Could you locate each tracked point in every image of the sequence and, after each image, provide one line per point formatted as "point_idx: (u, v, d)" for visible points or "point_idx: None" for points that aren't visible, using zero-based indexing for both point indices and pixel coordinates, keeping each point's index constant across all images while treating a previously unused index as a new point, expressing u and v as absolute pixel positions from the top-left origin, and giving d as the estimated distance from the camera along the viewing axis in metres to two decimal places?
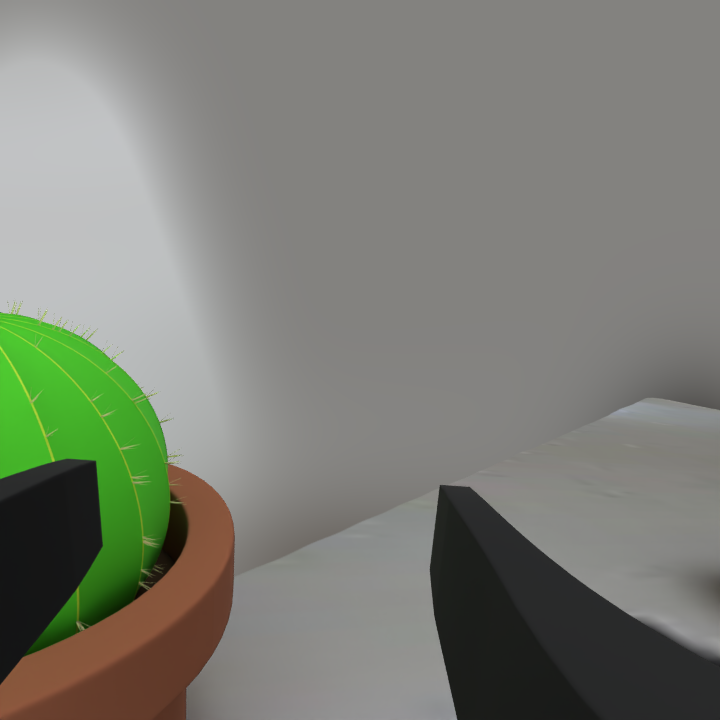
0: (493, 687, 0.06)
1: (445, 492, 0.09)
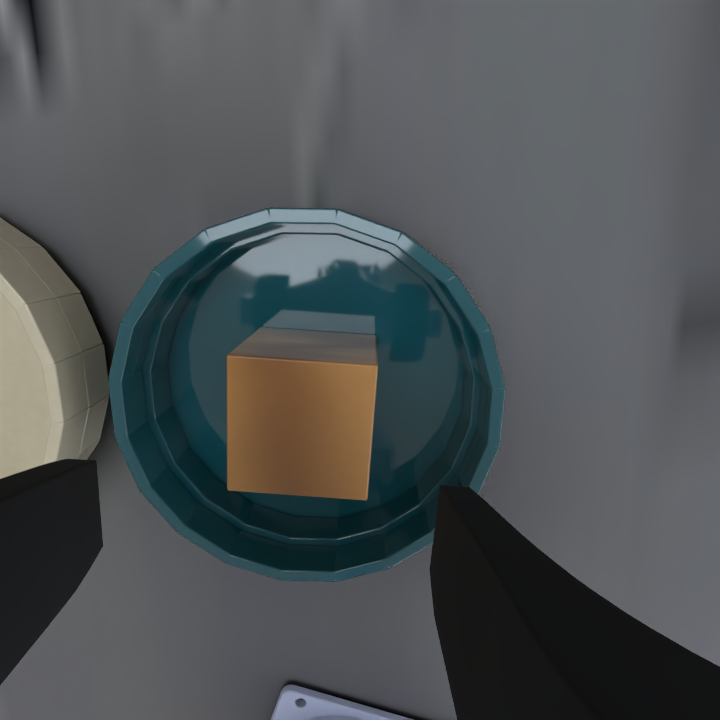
0: (493, 687, 0.06)
1: (445, 492, 0.09)
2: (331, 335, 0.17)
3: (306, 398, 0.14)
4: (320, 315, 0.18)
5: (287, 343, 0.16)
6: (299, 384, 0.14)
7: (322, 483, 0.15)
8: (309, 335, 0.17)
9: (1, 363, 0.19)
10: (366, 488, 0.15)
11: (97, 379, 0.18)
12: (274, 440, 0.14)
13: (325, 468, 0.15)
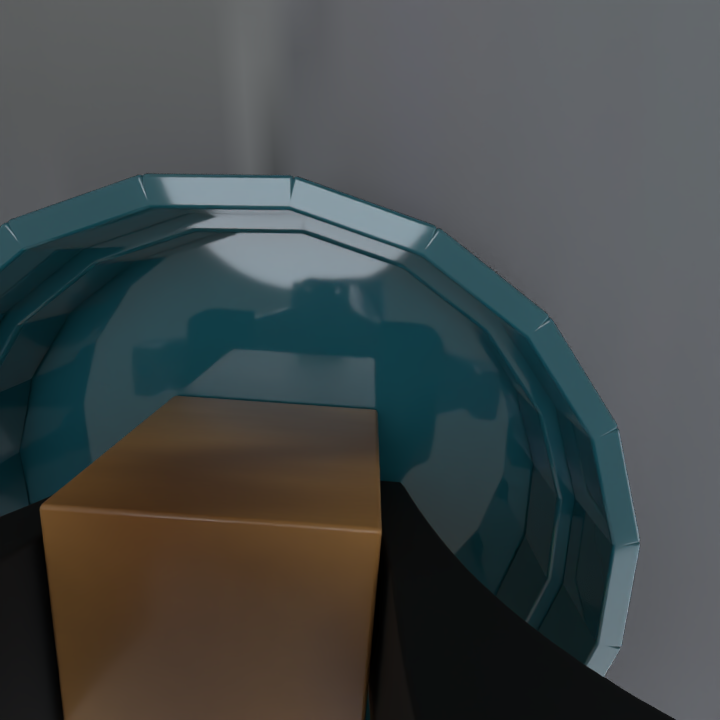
0: (383, 679, 0.06)
1: None
2: (296, 415, 0.10)
3: (223, 596, 0.06)
4: (280, 375, 0.10)
5: (202, 448, 0.08)
6: (205, 568, 0.06)
7: None
8: (255, 417, 0.09)
9: None
10: None
11: None
12: (158, 675, 0.07)
13: None
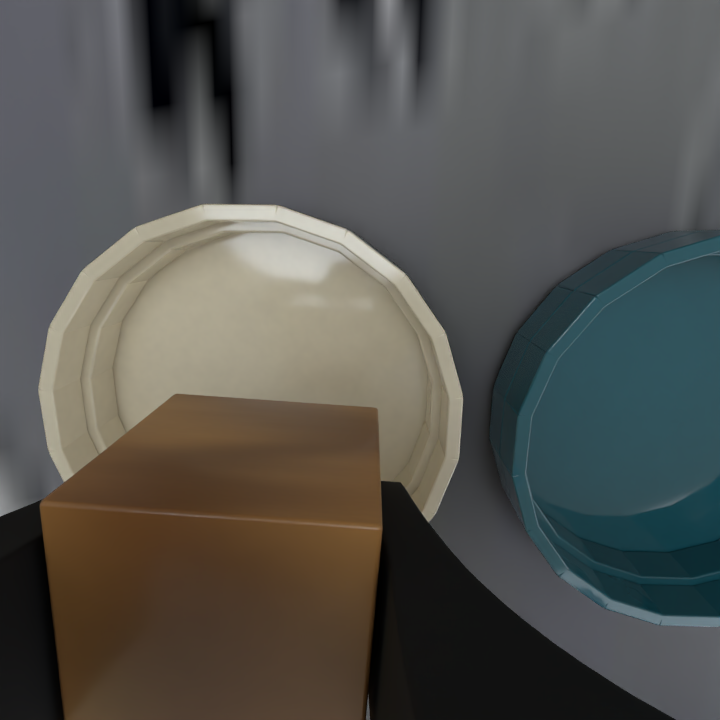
0: (383, 679, 0.06)
1: None
2: (297, 412, 0.10)
3: (224, 593, 0.06)
4: (689, 340, 0.17)
5: (202, 445, 0.08)
6: (204, 565, 0.06)
7: None
8: (255, 415, 0.09)
9: (332, 391, 0.17)
10: None
11: None
12: (158, 672, 0.07)
13: None
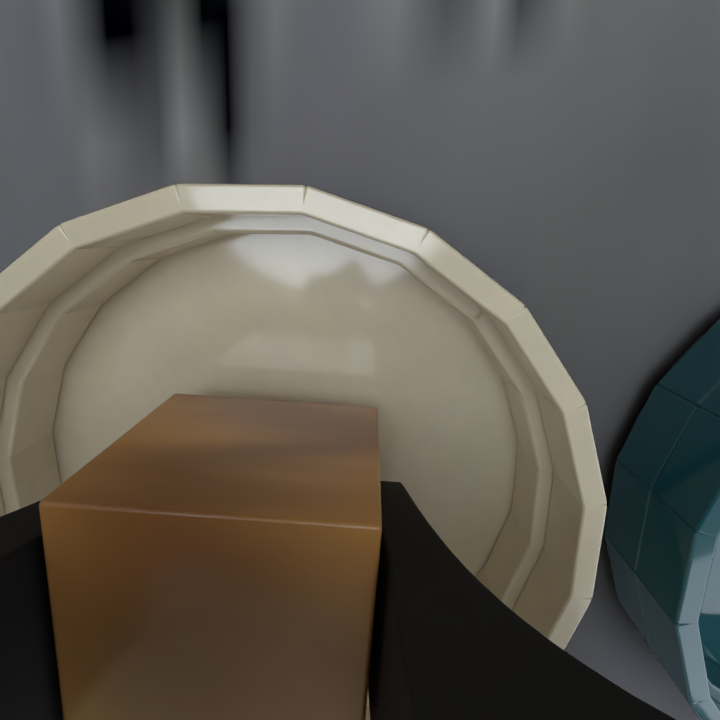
0: (383, 679, 0.06)
1: None
2: (296, 412, 0.10)
3: (223, 593, 0.06)
4: None
5: (202, 445, 0.08)
6: (204, 564, 0.06)
7: None
8: (255, 415, 0.09)
9: None
10: None
11: None
12: (158, 672, 0.07)
13: None
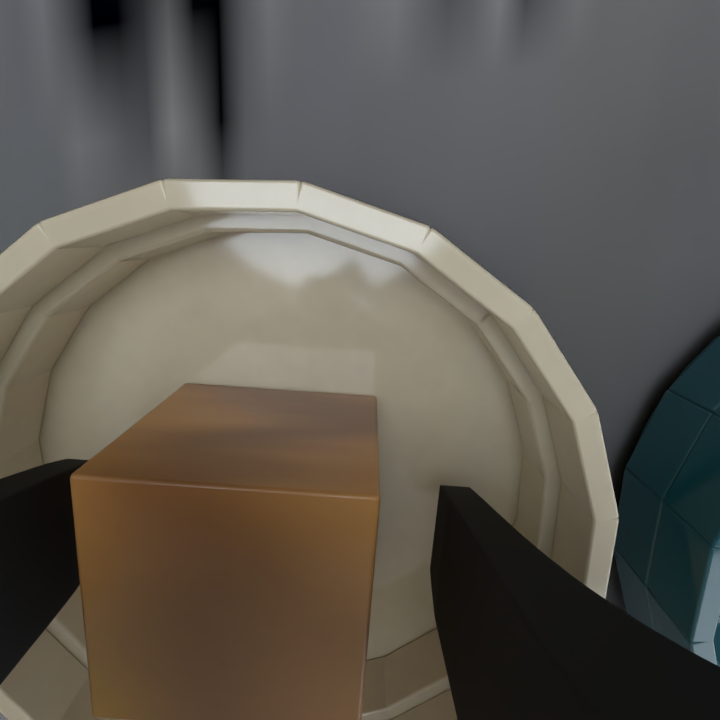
0: (493, 687, 0.06)
1: (445, 492, 0.09)
2: (300, 400, 0.10)
3: (236, 558, 0.07)
4: None
5: (214, 428, 0.09)
6: (219, 532, 0.07)
7: (273, 708, 0.08)
8: (262, 402, 0.10)
9: None
10: (358, 717, 0.08)
11: None
12: (176, 633, 0.07)
13: (277, 682, 0.08)
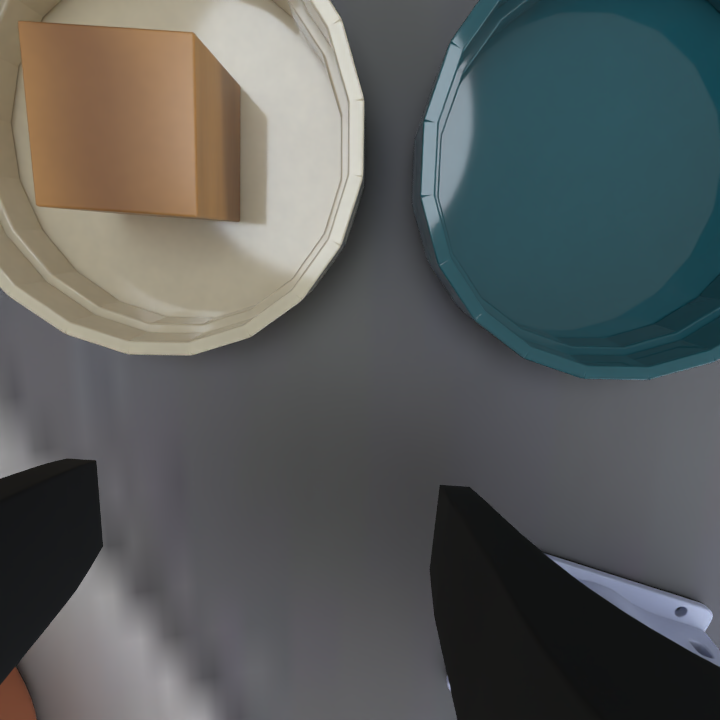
0: (493, 687, 0.06)
1: (445, 492, 0.09)
2: None
3: (115, 78, 0.12)
4: (618, 84, 0.16)
5: None
6: (104, 58, 0.12)
7: (143, 194, 0.13)
8: None
9: (243, 149, 0.17)
10: (195, 200, 0.13)
11: None
12: (83, 136, 0.12)
13: (145, 173, 0.13)
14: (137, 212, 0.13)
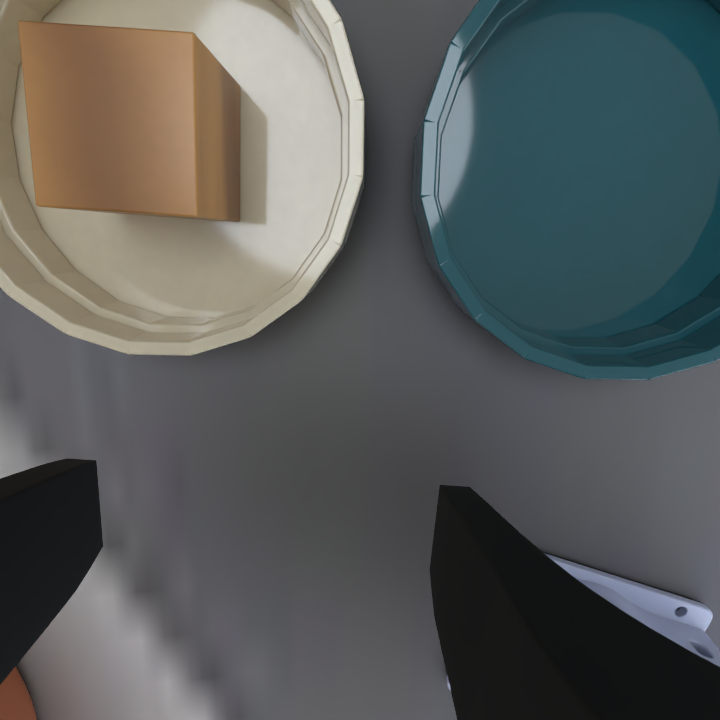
0: (493, 687, 0.06)
1: (445, 492, 0.09)
2: None
3: (115, 78, 0.12)
4: (618, 84, 0.16)
5: None
6: (104, 59, 0.12)
7: (143, 194, 0.13)
8: None
9: (243, 149, 0.17)
10: (195, 200, 0.13)
11: None
12: (83, 136, 0.12)
13: (145, 173, 0.13)
14: (137, 212, 0.13)
